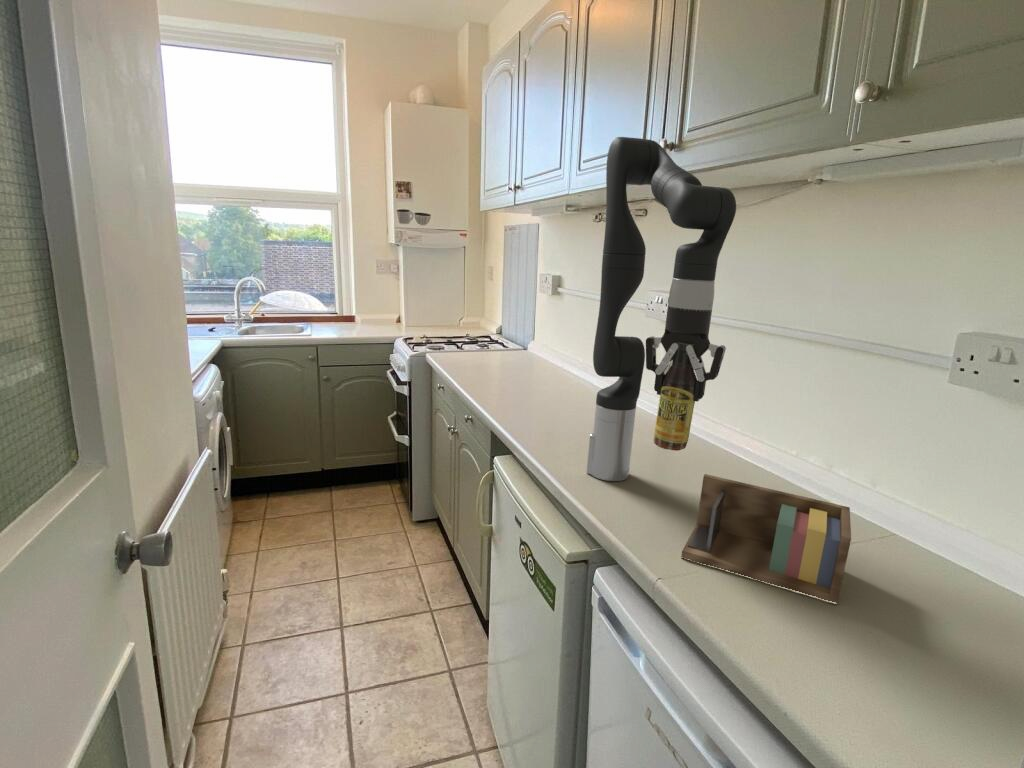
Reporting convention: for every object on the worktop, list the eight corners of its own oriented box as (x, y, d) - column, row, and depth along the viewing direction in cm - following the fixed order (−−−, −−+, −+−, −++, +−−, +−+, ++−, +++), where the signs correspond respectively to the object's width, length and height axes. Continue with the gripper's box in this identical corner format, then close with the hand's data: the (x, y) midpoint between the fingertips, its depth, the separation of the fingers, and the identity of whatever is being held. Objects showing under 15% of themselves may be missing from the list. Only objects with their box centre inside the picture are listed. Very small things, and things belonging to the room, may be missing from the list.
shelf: (681, 558, 99) (689, 497, 96) (696, 528, 110) (704, 474, 107) (836, 605, 88) (851, 538, 85) (836, 567, 99) (849, 507, 96)
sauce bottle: (648, 446, 105) (660, 341, 100) (659, 438, 110) (671, 337, 105) (682, 455, 101) (697, 346, 96) (693, 446, 106) (707, 342, 102)
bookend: (687, 546, 100) (693, 502, 98) (698, 526, 108) (704, 485, 106) (709, 552, 98) (716, 508, 96) (718, 532, 106) (725, 490, 104)
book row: (768, 570, 94) (777, 520, 92) (774, 547, 101) (782, 501, 99) (830, 588, 89) (840, 536, 87) (830, 562, 97) (840, 515, 95)
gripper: (736, 308, 99) (722, 400, 103) (655, 300, 106) (645, 386, 110) (729, 311, 93) (714, 409, 97) (643, 302, 99) (633, 394, 103)
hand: (677, 396), depth 103 cm, fingers closed on sauce bottle, 6 cm apart
